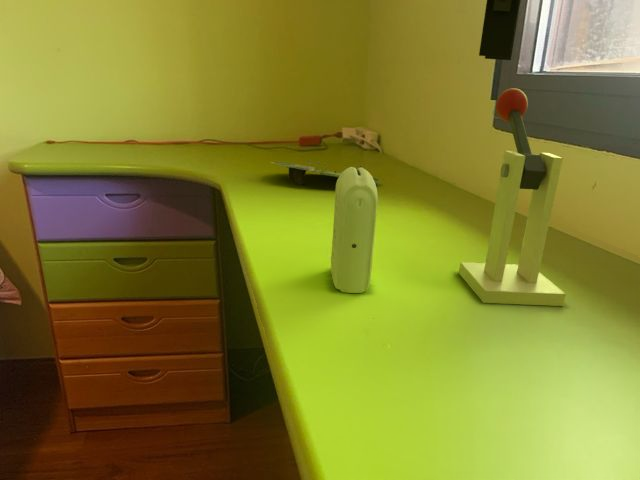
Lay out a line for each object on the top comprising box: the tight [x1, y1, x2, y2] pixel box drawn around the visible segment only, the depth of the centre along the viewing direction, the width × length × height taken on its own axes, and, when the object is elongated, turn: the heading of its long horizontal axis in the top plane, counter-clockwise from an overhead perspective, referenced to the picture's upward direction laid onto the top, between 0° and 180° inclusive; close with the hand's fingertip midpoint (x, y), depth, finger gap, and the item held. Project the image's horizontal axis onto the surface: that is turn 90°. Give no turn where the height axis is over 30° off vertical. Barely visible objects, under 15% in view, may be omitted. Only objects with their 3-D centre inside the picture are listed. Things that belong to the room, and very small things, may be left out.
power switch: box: [458, 150, 567, 307], centre depth 77 cm, size 12×9×15 cm
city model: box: [270, 160, 384, 185], centre depth 143 cm, size 25×23×6 cm
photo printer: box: [330, 166, 379, 294], centre depth 77 cm, size 10×4×12 cm, turn 2°
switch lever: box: [495, 87, 545, 190], centre depth 78 cm, size 15×4×4 cm, turn 2°
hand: (496, 58), depth 67 cm, fingers open, 13 cm apart
